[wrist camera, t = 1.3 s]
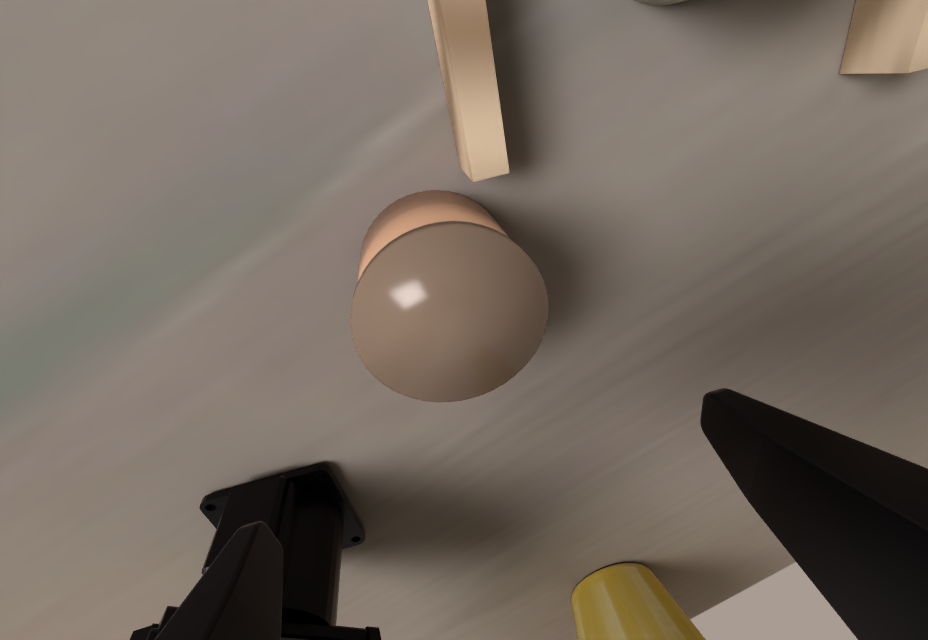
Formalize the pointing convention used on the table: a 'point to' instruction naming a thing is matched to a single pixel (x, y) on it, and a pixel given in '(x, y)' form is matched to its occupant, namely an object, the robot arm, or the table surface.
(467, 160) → the lane
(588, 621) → the plant pot
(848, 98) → the table surface
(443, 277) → the jar
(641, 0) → the stock jar
